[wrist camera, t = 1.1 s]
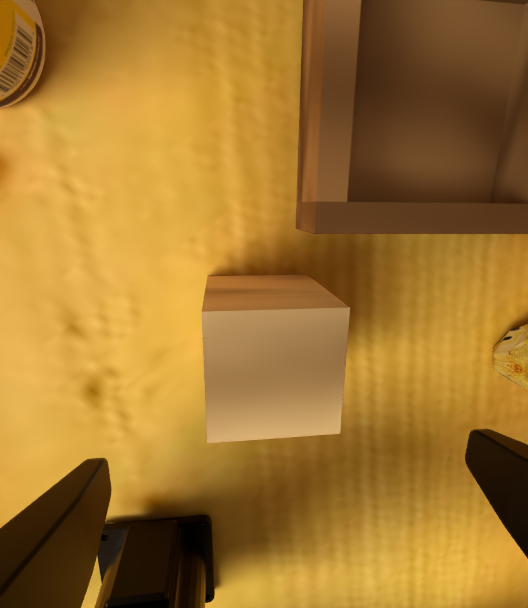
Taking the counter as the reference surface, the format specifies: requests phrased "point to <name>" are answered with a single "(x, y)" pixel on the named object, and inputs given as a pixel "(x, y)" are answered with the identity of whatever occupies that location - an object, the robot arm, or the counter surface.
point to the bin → (413, 117)
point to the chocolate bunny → (513, 356)
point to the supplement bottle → (20, 49)
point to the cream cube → (272, 357)
